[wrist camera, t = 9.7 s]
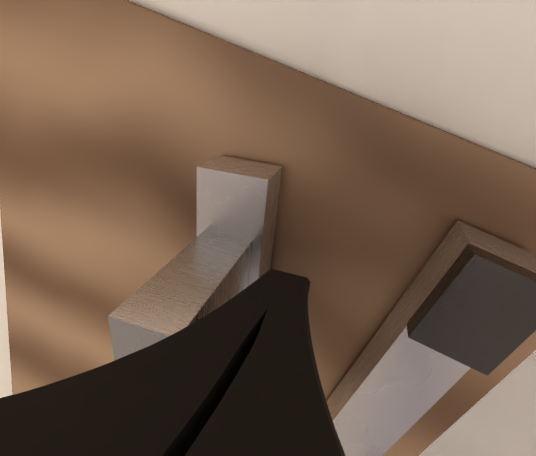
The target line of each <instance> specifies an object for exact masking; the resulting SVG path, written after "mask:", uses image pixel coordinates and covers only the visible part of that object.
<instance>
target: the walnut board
mask: <svg viewBox="0 0 536 456" xmlns="http://www.w3.org/2000/svg"><path fill="white" fill-rule="evenodd" d="M219 155H221V156H227V157H232V158H238V159H243V160H249V161H255V162H260V163H266V164H272V165H277V166H282V174H281V183H280V191H279V199H278V208H277V216H276V225H275V233H274V242H273V250H272V259H271V267H270V270H271V269H275V270H279V271H283V272H287V273H291V274H295V275H299V276H303V277H307V278H308V279H309V281H310V282H311V283H310V289H309V294H308V316H309V325H310V333H311V339H312V345H313V350H314V355H315V360H316V365H317V369H318V373H319V377H320V381H321V384H322V388H323V391H324V395H325V398H326V401H327V400H328V398H329V397H330V396H331V394H332V393H333V392H334V390H335V389H336V387H337V386H338V385H339V383H340V382H341V381H342V379H343V378H344V376H345V375H346V374H347V372H348V371H349V369H350V368H351V367H352V365H353V364H354V363H355V361H356V360H357V358H358V357H359V356H360V354H361V353H362V352H363V350H364V349H365V347H366V346H367V345H368V343H369V342H370V341H371V339H372V338H373V336H374V335H375V334H376V332H377V331H378V329H379V328H380V327H381V325H382V324H383V323H384V321H385V320H386V318H387V317H388V316H389V314H390V313H391V312H392V310H393V309H394V307H395V306H396V305H397V303H398V302H399V301H400V299H401V298H402V296H403V295H404V294H405V292H406V291H407V289H408V288H409V287H410V285H411V284H412V283H413V281H414V280H415V278H416V277H417V276H418V274H419V273H420V272H421V270H422V269H423V267H424V266H425V265H426V263H427V262H428V261H429V259H430V258H431V256H432V255H433V254H434V252H435V251H436V249H437V248H438V247H439V245H440V244H441V243H442V241H443V240H444V238H445V237H446V236H447V234H448V233H449V232H450V230H451V229H452V227H453V226H454V225H455V223H456V222H457V221H461V222H463V223H465V224H467V225H470V226H472V227H474V228H476V229H479V230H481V231H483V232H486V233H488V234H490V235H492V236H495V237H497V238H499V239H502V240H504V241H506V242H508V243H511V244H513V245H515V246H518V247H520V248H522V249H524V250H527V251H529V252H531V253H532V254H533V255H534V256H535V258H536V169H535V168H533V167H531V166H528V165H526V164H523V163H521V162H518V161H516V160H514V159H511V158H509V157H506V156H504V155H501V154H499V153H497V152H494V151H492V150H489V149H487V148H484V147H482V146H480V145H477V144H475V143H472V142H470V141H467V140H465V139H463V138H460V137H458V136H455V135H453V134H450V133H448V132H446V131H443V130H441V129H438V128H436V127H433V126H431V125H428V124H426V123H424V122H421V121H419V120H416V119H414V118H411V117H409V116H407V115H404V114H402V113H399V112H397V111H394V110H392V109H390V108H387V107H385V106H382V105H380V104H377V103H375V102H373V101H370V100H368V99H365V98H363V97H360V96H358V95H356V94H353V93H351V92H348V91H346V90H343V89H341V88H339V87H336V86H334V85H331V84H329V83H326V82H324V81H322V80H319V79H317V78H314V77H312V76H309V75H307V74H304V73H302V72H300V71H297V70H295V69H292V68H290V67H287V66H285V65H283V64H280V63H278V62H275V61H273V60H270V59H268V58H266V57H263V56H261V55H258V54H256V53H253V52H251V51H249V50H246V49H244V48H241V47H239V46H236V45H234V44H232V43H229V42H227V41H224V40H222V39H219V38H217V37H215V36H212V35H210V34H207V33H205V32H202V31H200V30H198V29H195V28H193V27H190V26H188V25H185V24H183V23H180V22H178V21H176V20H173V19H171V18H168V17H166V16H163V15H161V14H159V13H156V12H154V11H151V10H149V9H146V8H144V7H142V6H139V5H137V4H134V3H132V2H129V1H127V0H0V210H1V225H2V240H3V255H4V270H5V285H6V300H7V315H8V330H9V346H10V361H11V376H12V391H13V395H14V394H18V393H21V392H25V391H28V390H32V389H35V388H38V387H41V386H45V385H48V384H51V383H54V382H57V381H60V380H63V379H66V378H69V377H72V376H75V375H78V374H80V373H83V372H86V371H89V370H92V369H94V368H97V367H100V366H102V365H105V364H108V363H110V362H112V361H114V355H113V348H112V341H111V335H110V328H109V321H108V316H109V315H110V314H111V313H112V312H113V311H114V310H115V309H116V308H118V307H119V306H120V305H121V304H122V303H123V302H124V301H125V300H127V299H128V298H129V297H130V296H131V295H132V294H133V293H134V292H136V291H137V290H138V289H139V288H140V287H141V286H142V285H143V284H144V283H146V282H147V281H148V280H149V279H150V278H151V277H152V276H153V275H155V274H156V273H157V272H158V271H159V270H160V269H161V268H162V267H164V266H165V265H166V264H167V263H168V262H169V261H170V260H171V259H173V258H174V257H175V256H176V255H177V254H178V253H179V252H180V251H181V250H183V249H184V248H185V247H186V246H187V245H188V244H189V243H190V242H192V241H193V240H194V239H195V238H196V237H197V166H199V165H201V164H203V163H205V162H207V161H209V160H211V159H213V158H215V157H217V156H219ZM535 349H536V331H535V332H534V333H533V334H531V335H530V336H529V337H528V338H527V339H526V340H525V341H524V342H523V343H522V344H521V345H520V346H519V347H518V348H517V349H516V350H514V351H513V352H512V353H511V354H510V355H509V356H508V357H507V358H506V359H505V360H504V361H503V362H502V363H501V364H500V365H498V366H497V367H496V368H495V369H494V370H493V371H492V372H491V373H490V374H489V375H488V376H487V375H485V374H483V373H480V372H478V371H476V370H474V369H472V368H470V369H469V370H468V371H467V372H466V373H465V374H464V375H463V376H462V377H461V378H460V379H459V380H458V381H457V382H456V383H455V384H454V385H453V386H452V387H451V388H450V389H449V390H448V391H447V392H446V393H445V394H444V395H443V396H442V397H441V398H440V399H439V400H438V401H437V402H436V403H435V404H434V405H433V406H432V407H431V408H430V409H429V410H428V411H427V412H426V413H425V414H424V415H423V416H422V417H421V418H420V419H419V420H418V421H417V422H416V423H415V424H414V425H413V426H412V427H411V428H410V429H409V430H408V431H407V432H406V433H405V434H404V435H403V436H402V437H401V438H400V439H399V440H398V441H397V442H396V443H395V444H394V445H393V446H392V447H391V448H390V449H389V450H388V451H387V452H386V453H385V454H384V455H383V456H418V455H419V454H420V453H421V452H422V451H424V450H425V449H426V448H427V447H428V446H429V445H430V444H431V443H432V442H434V441H435V440H436V439H437V438H438V437H439V436H440V435H441V434H442V433H444V432H445V431H446V430H447V429H448V428H449V427H450V426H451V425H452V424H453V423H455V422H456V421H457V420H458V419H459V418H460V417H461V416H462V415H463V414H465V413H466V412H467V411H468V410H469V409H470V408H471V407H472V406H473V405H475V404H476V403H477V402H478V401H479V400H480V399H481V398H482V397H483V396H485V395H486V394H487V393H488V392H489V391H490V390H491V389H492V388H493V387H494V386H496V385H497V384H498V383H499V382H500V381H501V380H502V379H503V378H504V377H506V376H507V375H508V374H509V373H510V372H511V371H512V370H513V369H514V368H516V367H517V366H518V365H519V364H520V363H521V362H522V361H523V360H524V359H526V358H527V357H528V356H529V355H530V354H531V353H532V352H533V351H534V350H535Z"/></svg>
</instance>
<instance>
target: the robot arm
mask: <svg viewBox="0 0 536 456" xmlns="http://www.w3.org/2000/svg"><path fill="white" fill-rule="evenodd" d="M310 283H311V282H310V281H309V279H308V278H307V277H303V276H299V275H295V274H291V273H287V272H283V271H279V270H275V269H271V270H269V271H267V272H266V273H265V274H263V275H262V276H261V277H259V278H258V279H257V280H256V281H254V282H253V283H252V284H250V285H249V286H248V287H246V288H245V289H244V290H242V291H241V292H240V293H238V294H237V295H235V296H234V297H233V298H231V299H230V300H228V301H227V302H225V303H224V304H223V305H221V306H220V307H218V308H216V309H215V310H213V311H212V312H210V313H208V314H207V315H205V316H204V317H202V318H200V319H199V320H197V321H196V322H194V323H192V324H190V325H189V326H187V327H185V328H183V329H182V330H180V331H178V332H176V333H174V334H172V335H170V336H168V337H166V338H164V339H162V340H160V341H158V342H156V343H154V344H152V345H150V346H148V347H146V348H143V349H141V350H138V351H136V352H134V353H131V354H129V355H127V356H124V357H122V358H119V359H117V360H115V361H112V362H110V363H108V364H105V365H102V366H100V367H97V368H94V369H92V370H89V371H86V372H83V373H80V374H78V375H75V376H72V377H69V378H66V379H63V380H60V381H57V382H54V383H51V384H48V385H45V386H41V387H38V388H35V389H32V390H28V391H25V392H21V393H18V394H14V395H11V396H7V397H3V398H0V456H346V455H345V453H344V450H343V447H342V445H341V442H340V440H339V437H338V434H337V432H336V429H335V426H334V423H333V420H332V417H331V414H330V411H329V408H328V405H327V402H326V398H325V395H324V391H323V388H322V384H321V381H320V377H319V373H318V369H317V365H316V360H315V355H314V350H313V345H312V339H311V333H310V325H309V316H308V294H309V289H310Z"/></svg>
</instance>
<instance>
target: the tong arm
mask: <svg viewBox="0 0 536 456" xmlns="http://www.w3.org/2000/svg"><path fill="white" fill-rule="evenodd" d="M281 174H282V166H277V165H272V164H266V163H260V162H255V161H249V160H243V159H238V158H232V157H227V156H221V155H219V156H217V157H215V158H213V159H211V160H209V161H207V162H205V163H203V164H201V165H199V166H197V237H196V238H195V239H194V240H193V241H192V242H190V243H189V244H188V245H187V246H186V247H185V248H184V249H183V250H181V251H180V252H179V253H178V254H177V255H176V256H175V257H174V258H173V259H171V260H170V261H169V262H168V263H167V264H166V265H165V266H164V267H162V268H161V269H160V270H159V271H158V272H157V273H156V274H155V275H153V276H152V277H151V278H150V279H149V280H148V281H147V282H146V283H144V284H143V285H142V286H141V287H140V288H139V289H138V290H137V291H136V292H134V293H133V294H132V295H131V296H130V297H129V298H128V299H127V300H125V301H124V302H123V303H122V304H121V305H120V306H119V307H118V308H116V309H115V310H114V311H113V312H112V313H111V314H110V315H109V316H108V321H109V328H110V335H111V341H112V348H113V355H114V361H115V360H117V359H119V358H122V357H124V356H127V355H129V354H131V353H134V352H136V351H138V350H141V349H143V348H146V347H148V346H150V345H152V344H154V343H156V342H158V341H160V340H162V339H164V338H166V337H168V336H170V335H172V334H174V333H176V332H178V331H180V330H182V329H183V328H185V327H187V326H189V325H190V324H192V323H194V322H196V321H197V320H199V319H200V318H202V317H204V316H205V315H207V314H208V313H210V312H212V311H213V310H215V309H216V308H218V307H220V306H221V305H223V304H224V303H225V302H227V301H228V300H230V299H231V298H233V297H234V296H235V295H237V294H238V293H240V292H241V291H242V290H244V289H245V288H246V287H248V286H249V285H250V284H252V283H253V282H254V281H256V280H257V279H258V278H259V277H261V276H262V275H263V274H265V273H266V272H267V271H269V270H270V267H271V259H272V250H273V242H274V233H275V225H276V216H277V208H278V199H279V191H280V183H281Z"/></svg>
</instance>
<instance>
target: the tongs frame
mask: <svg viewBox="0 0 536 456" xmlns="http://www.w3.org/2000/svg"><path fill="white" fill-rule="evenodd" d="M535 331H536V258H535V256H534V255H533V254H532V253H531V252H529V251H527V250H524V249H522V248H520V247H518V246H515V245H513V244H511V243H508V242H506V241H504V240H502V239H499V238H497V237H495V236H492V235H490V234H488V233H486V232H483V231H481V230H479V229H476V228H474V227H472V226H470V225H467V224H465V223H463V222H461V221H457V222H456V223H455V225H454V226H453V227H452V229H451V230H450V232H449V233H448V234H447V236H446V237H445V238H444V240H443V241H442V243H441V244H440V245H439V247H438V248H437V249H436V251H435V252H434V254H433V255H432V256H431V258H430V259H429V261H428V262H427V263H426V265H425V266H424V267H423V269H422V270H421V272H420V273H419V274H418V276H417V277H416V278H415V280H414V281H413V283H412V284H411V285H410V287H409V288H408V289H407V291H406V292H405V294H404V295H403V296H402V298H401V299H400V301H399V302H398V303H397V305H396V306H395V307H394V309H393V310H392V312H391V313H390V314H389V316H388V317H387V318H386V320H385V321H384V323H383V324H382V325H381V327H380V328H379V329H378V331H377V332H376V334H375V335H374V336H373V338H372V339H371V341H370V342H369V343H368V345H367V346H366V347H365V349H364V350H363V352H362V353H361V354H360V356H359V357H358V358H357V360H356V361H355V363H354V364H353V365H352V367H351V368H350V369H349V371H348V372H347V374H346V375H345V376H344V378H343V379H342V381H341V382H340V383H339V385H338V386H337V387H336V389H335V390H334V392H333V393H332V394H331V396H330V397H329V398H328V400H327V401H326V402H327V405H328V408H329V411H330V414H331V417H332V420H333V423H334V426H335V429H336V432H337V434H338V437H339V440H340V442H341V445H342V447H343V450H344V453H345V455H346V456H383V455H384V454H385V453H386V452H387V451H388V450H389V449H390V448H391V447H392V446H393V445H394V444H395V443H396V442H397V441H398V440H399V439H400V438H401V437H402V436H403V435H404V434H405V433H406V432H407V431H408V430H409V429H410V428H411V427H412V426H413V425H414V424H415V423H416V422H417V421H418V420H419V419H420V418H421V417H422V416H423V415H424V414H425V413H426V412H427V411H428V410H429V409H430V408H431V407H432V406H433V405H434V404H435V403H436V402H437V401H438V400H439V399H440V398H441V397H442V396H443V395H444V394H445V393H446V392H447V391H448V390H449V389H450V388H451V387H452V386H453V385H454V384H455V383H456V382H457V381H458V380H459V379H460V378H461V377H462V376H463V375H464V374H465V373H466V372H467V371H468V370H469V369H470V368H472V369H474V370H476V371H478V372H480V373H483V374H485V375H487V376H488V375H489V374H490V373H491V372H492V371H493V370H494V369H495V368H496V367H497V366H498V365H500V364H501V363H502V362H503V361H504V360H505V359H506V358H507V357H508V356H509V355H510V354H511V353H512V352H513V351H514V350H516V349H517V348H518V347H519V346H520V345H521V344H522V343H523V342H524V341H525V340H526V339H527V338H528V337H529V336H530V335H531V334H533V333H534V332H535Z"/></svg>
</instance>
